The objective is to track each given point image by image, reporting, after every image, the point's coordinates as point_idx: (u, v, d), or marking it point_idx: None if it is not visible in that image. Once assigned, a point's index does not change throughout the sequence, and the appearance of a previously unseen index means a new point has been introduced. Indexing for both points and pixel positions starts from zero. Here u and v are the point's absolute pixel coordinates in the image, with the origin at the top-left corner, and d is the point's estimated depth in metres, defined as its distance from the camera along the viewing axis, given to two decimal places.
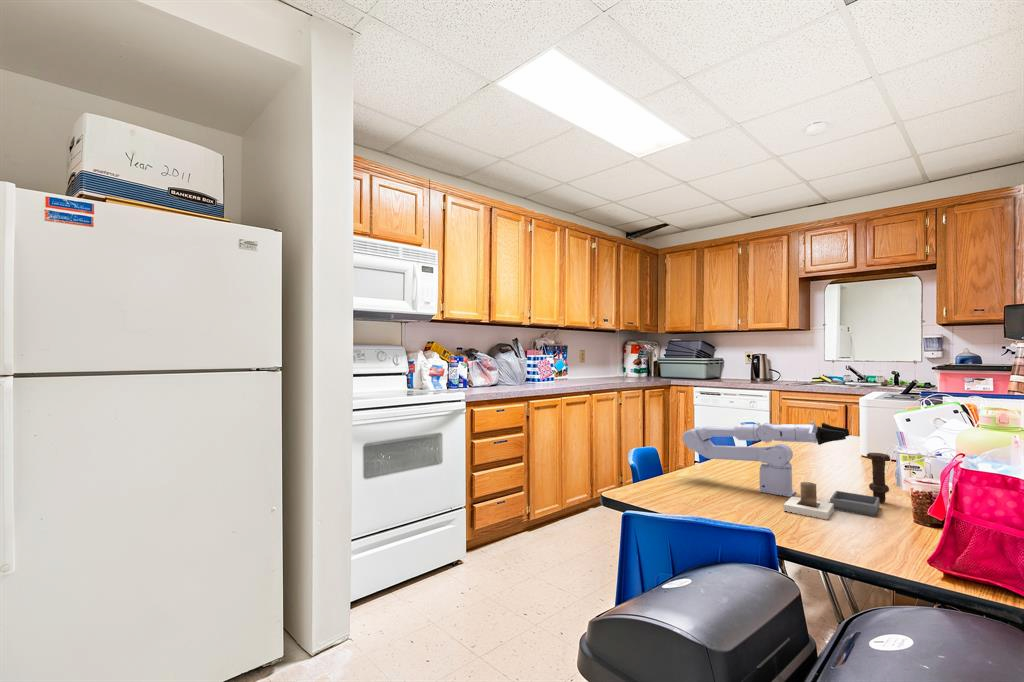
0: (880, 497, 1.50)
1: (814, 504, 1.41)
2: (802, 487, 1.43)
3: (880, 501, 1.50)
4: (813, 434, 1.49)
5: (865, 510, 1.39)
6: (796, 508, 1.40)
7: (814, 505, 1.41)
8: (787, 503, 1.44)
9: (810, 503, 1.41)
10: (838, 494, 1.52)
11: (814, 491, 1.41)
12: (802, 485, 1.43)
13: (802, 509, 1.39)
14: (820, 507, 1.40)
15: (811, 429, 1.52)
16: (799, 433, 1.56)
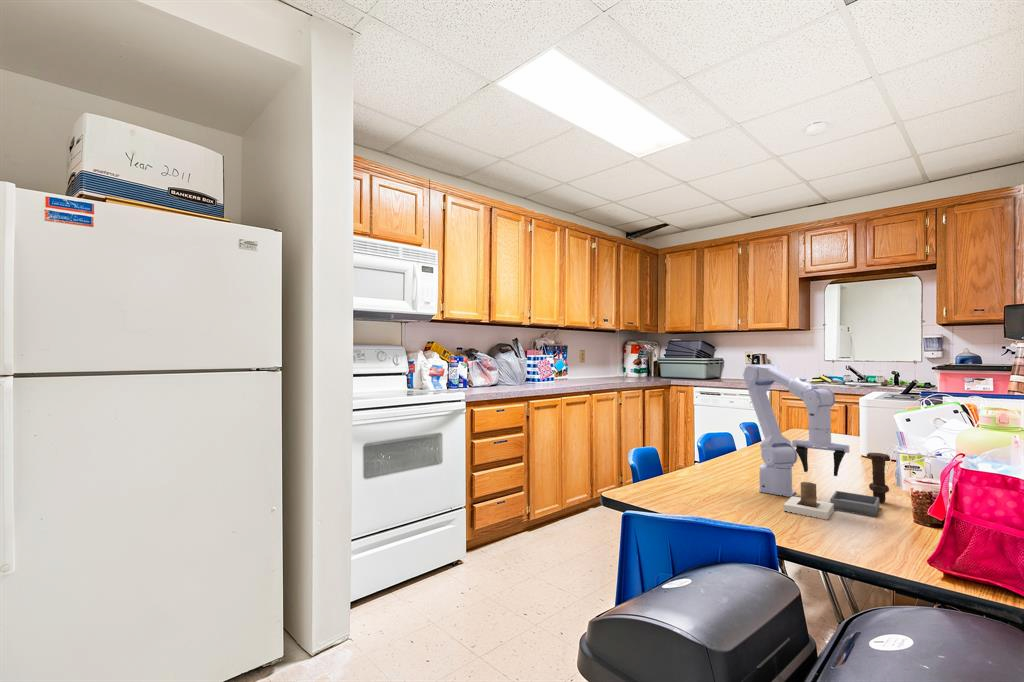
0: (880, 497, 1.50)
1: (814, 504, 1.41)
2: (802, 487, 1.43)
3: (880, 501, 1.50)
4: None
5: (865, 510, 1.39)
6: (796, 508, 1.40)
7: (814, 505, 1.41)
8: (787, 503, 1.44)
9: (810, 503, 1.41)
10: (838, 494, 1.52)
11: (814, 491, 1.41)
12: (802, 485, 1.43)
13: (802, 509, 1.39)
14: (820, 507, 1.40)
15: (803, 443, 1.47)
16: None
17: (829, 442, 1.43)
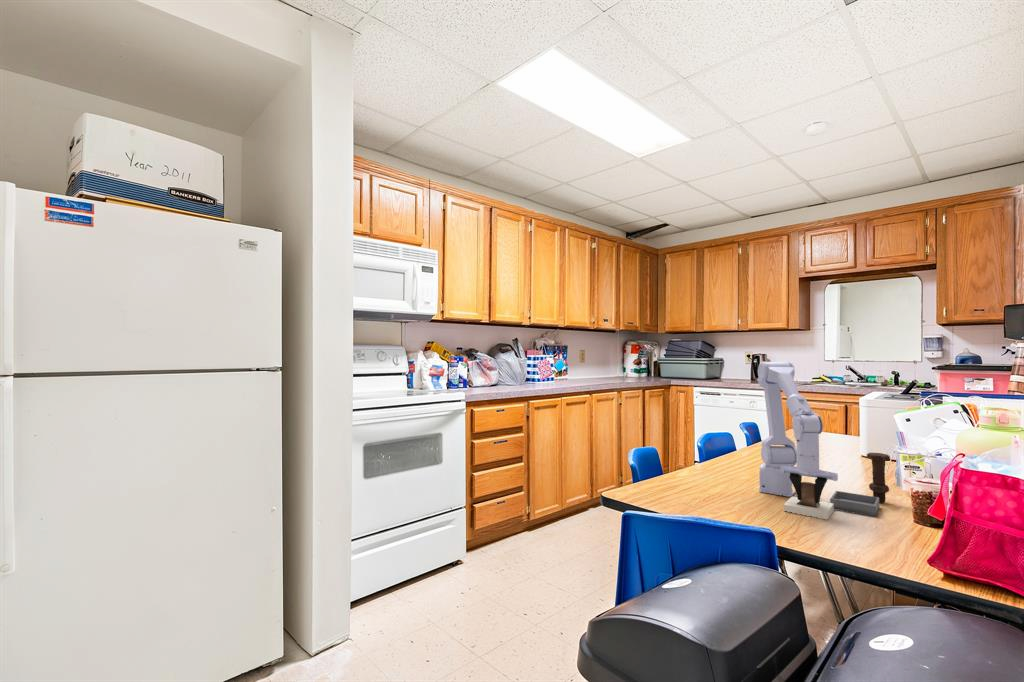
0: (880, 497, 1.50)
1: (814, 504, 1.41)
2: (802, 487, 1.43)
3: (880, 501, 1.50)
4: None
5: (865, 510, 1.39)
6: (796, 508, 1.40)
7: (814, 505, 1.41)
8: (787, 503, 1.44)
9: (810, 503, 1.41)
10: (838, 494, 1.52)
11: (814, 491, 1.41)
12: (802, 485, 1.43)
13: (802, 509, 1.39)
14: (820, 507, 1.40)
15: (791, 470, 1.45)
16: None
17: (817, 469, 1.41)
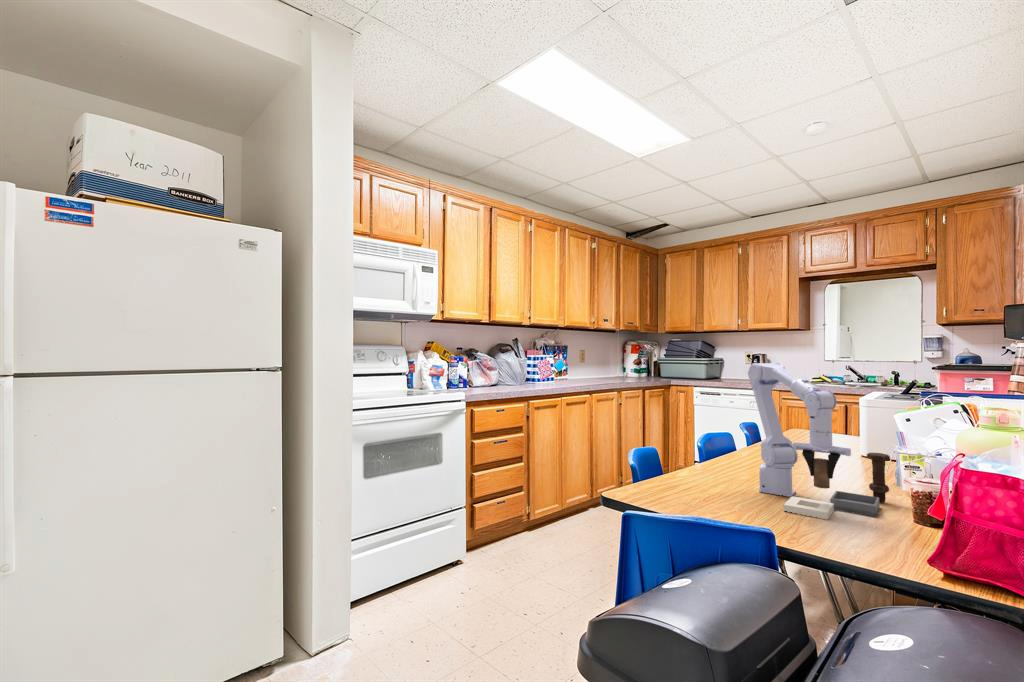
0: (880, 497, 1.50)
1: (827, 479, 1.42)
2: (815, 463, 1.44)
3: (880, 501, 1.50)
4: None
5: (865, 510, 1.39)
6: (796, 508, 1.40)
7: (827, 480, 1.42)
8: (787, 503, 1.44)
9: (823, 478, 1.42)
10: (838, 494, 1.52)
11: (827, 467, 1.42)
12: (815, 461, 1.44)
13: (802, 509, 1.39)
14: (820, 507, 1.40)
15: (804, 446, 1.46)
16: None
17: (830, 445, 1.42)
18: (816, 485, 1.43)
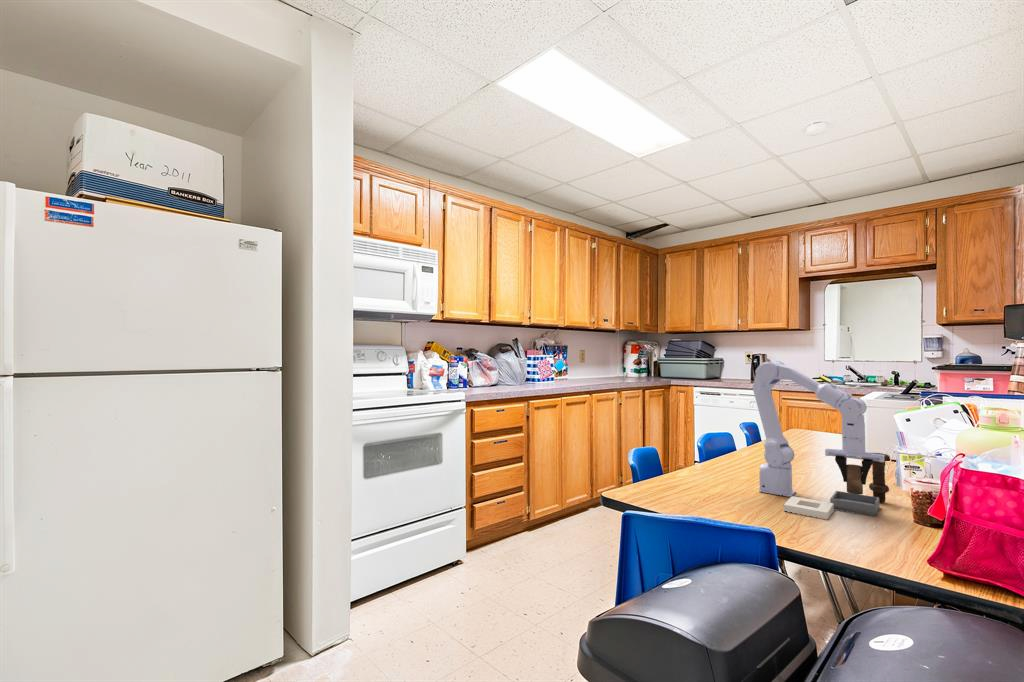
0: (880, 497, 1.50)
1: (860, 485, 1.43)
2: (848, 469, 1.45)
3: (880, 501, 1.50)
4: None
5: (865, 510, 1.39)
6: (796, 508, 1.40)
7: (860, 486, 1.43)
8: (787, 503, 1.44)
9: (856, 484, 1.44)
10: (838, 494, 1.52)
11: (860, 473, 1.44)
12: (848, 467, 1.45)
13: (802, 509, 1.39)
14: (820, 507, 1.40)
15: (837, 452, 1.47)
16: None
17: (863, 451, 1.43)
18: (849, 491, 1.45)
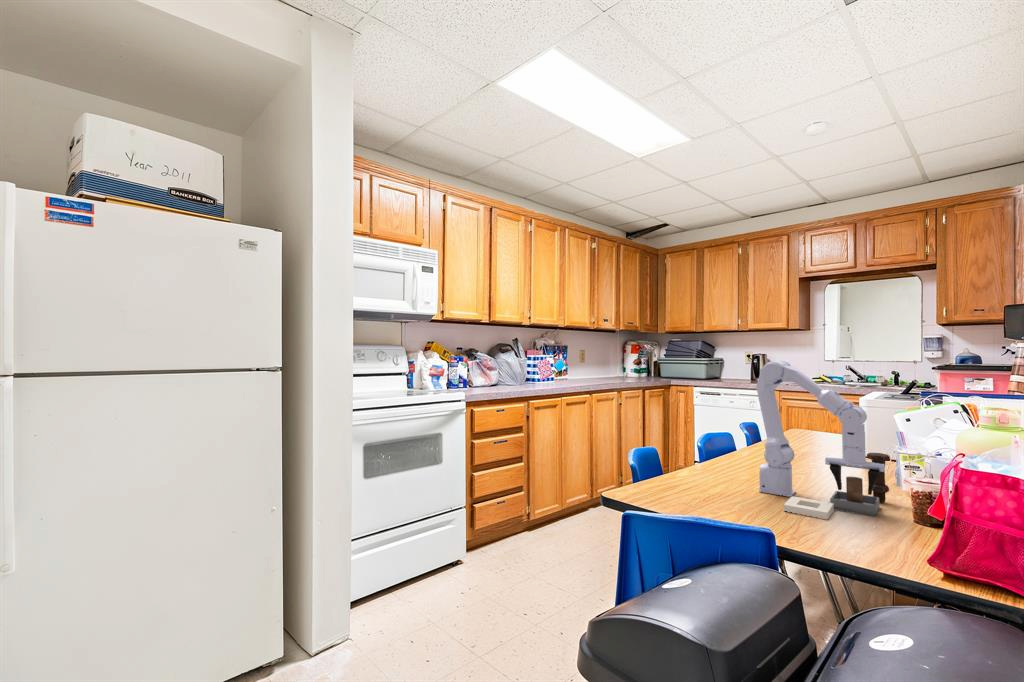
0: (880, 497, 1.50)
1: (860, 498, 1.43)
2: (848, 481, 1.45)
3: (880, 501, 1.50)
4: None
5: (865, 510, 1.39)
6: (796, 508, 1.40)
7: (860, 499, 1.43)
8: (787, 503, 1.44)
9: (856, 497, 1.44)
10: (838, 494, 1.52)
11: (860, 485, 1.44)
12: (848, 479, 1.45)
13: (802, 509, 1.39)
14: (820, 507, 1.40)
15: (837, 461, 1.47)
16: (843, 449, 1.47)
17: (864, 461, 1.43)
18: None
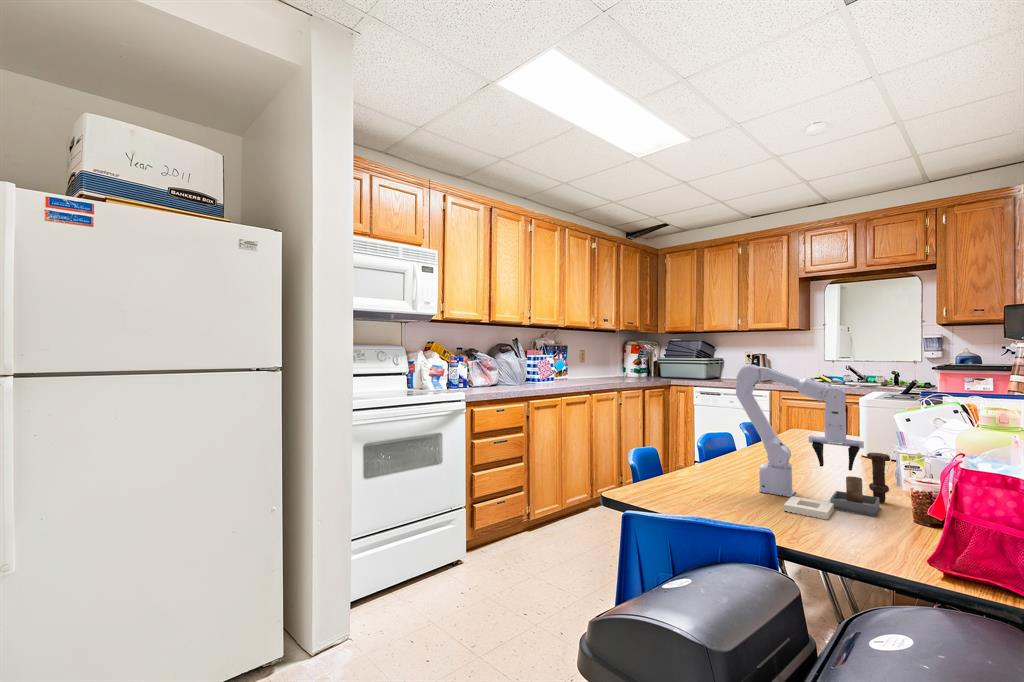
0: (880, 497, 1.50)
1: (860, 498, 1.43)
2: (848, 481, 1.45)
3: (880, 501, 1.50)
4: None
5: (865, 510, 1.39)
6: (796, 508, 1.40)
7: (860, 499, 1.43)
8: (787, 503, 1.44)
9: (856, 497, 1.44)
10: (838, 494, 1.52)
11: (860, 485, 1.44)
12: (848, 479, 1.45)
13: (802, 509, 1.39)
14: (820, 507, 1.40)
15: (819, 439, 1.55)
16: None
17: (844, 438, 1.51)
18: None
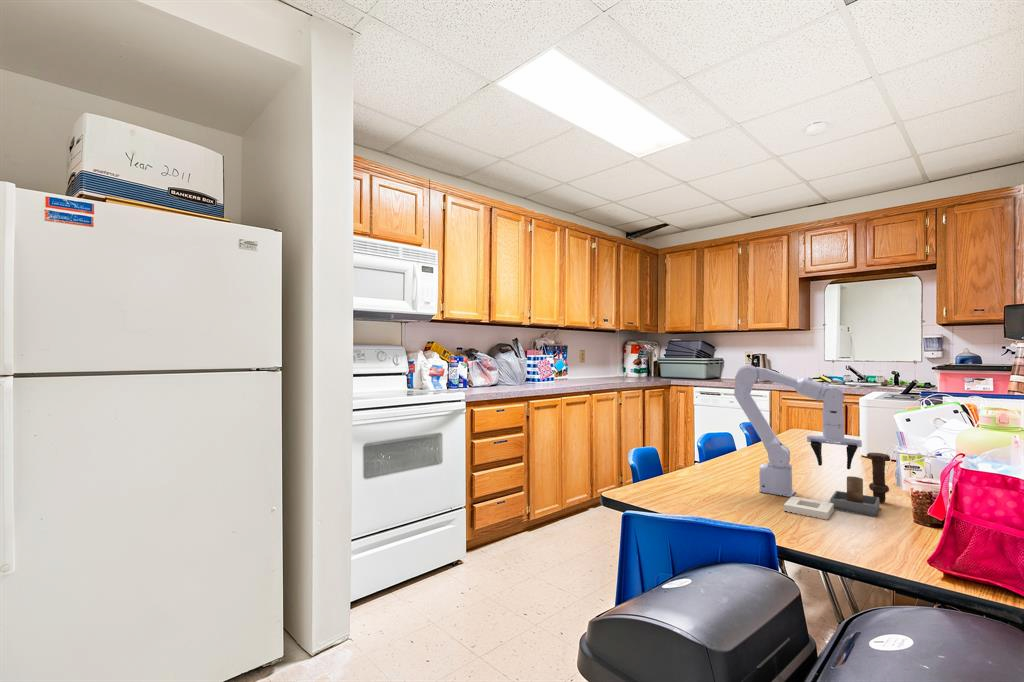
0: (880, 497, 1.50)
1: (860, 498, 1.43)
2: (848, 481, 1.45)
3: (880, 501, 1.50)
4: None
5: (865, 510, 1.39)
6: (796, 508, 1.40)
7: (860, 499, 1.43)
8: (787, 503, 1.44)
9: (856, 497, 1.43)
10: (838, 494, 1.52)
11: (861, 485, 1.43)
12: (848, 479, 1.45)
13: (802, 509, 1.39)
14: (820, 507, 1.40)
15: (817, 438, 1.56)
16: None
17: (842, 437, 1.52)
18: None
